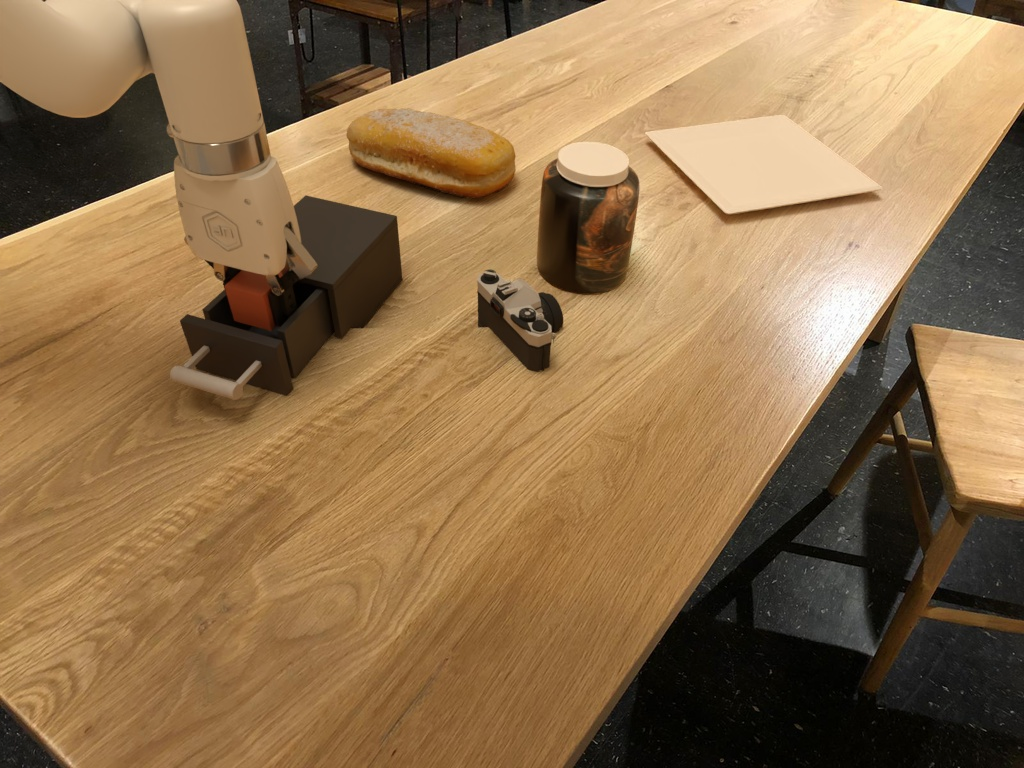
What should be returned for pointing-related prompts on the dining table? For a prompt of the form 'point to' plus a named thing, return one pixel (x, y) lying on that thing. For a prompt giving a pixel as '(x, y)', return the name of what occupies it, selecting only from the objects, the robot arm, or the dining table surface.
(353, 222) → the cabinet
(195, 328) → the drawer
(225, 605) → the dining table surface
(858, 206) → the dining table surface
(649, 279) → the dining table surface
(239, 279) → the block
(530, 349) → the camera
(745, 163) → the plate
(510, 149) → the bread
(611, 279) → the jar
